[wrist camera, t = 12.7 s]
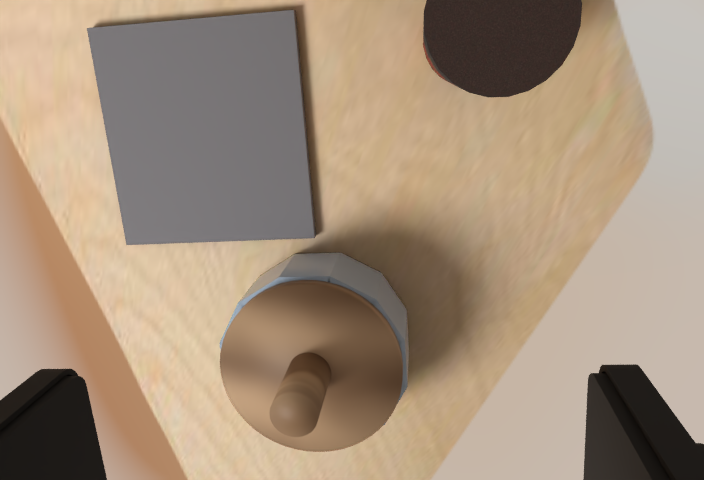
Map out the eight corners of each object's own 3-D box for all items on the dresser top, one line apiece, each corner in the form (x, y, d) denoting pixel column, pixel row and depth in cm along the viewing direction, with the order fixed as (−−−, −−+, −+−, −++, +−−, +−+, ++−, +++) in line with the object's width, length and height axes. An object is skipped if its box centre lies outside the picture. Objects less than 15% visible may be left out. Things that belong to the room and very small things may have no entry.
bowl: (234, 255, 43) (210, 279, 38) (404, 250, 41) (401, 274, 36) (253, 405, 46) (234, 444, 41) (411, 405, 44) (410, 446, 40)
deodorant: (523, 78, 37) (586, 84, 23) (429, 93, 38) (433, 108, 24) (514, -22, 36) (577, -83, 21) (417, -4, 36) (413, -50, 22)
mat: (91, 28, 39) (87, 28, 39) (295, 10, 37) (293, 9, 37) (130, 242, 43) (126, 244, 43) (316, 235, 42) (314, 238, 41)
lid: (213, 283, 38) (175, 320, 32) (397, 276, 36) (393, 314, 31) (237, 442, 41) (207, 502, 36) (407, 442, 40) (405, 506, 34)
